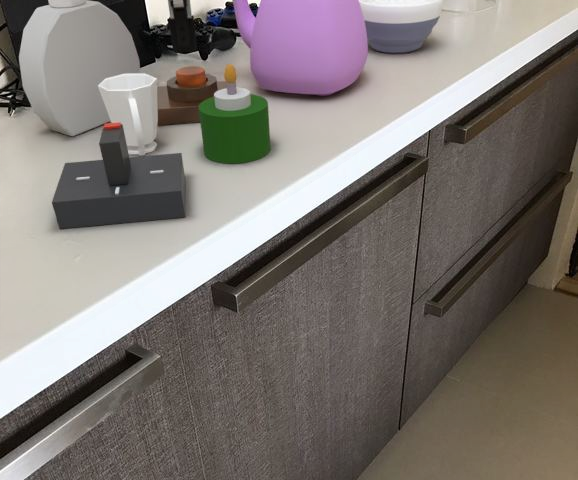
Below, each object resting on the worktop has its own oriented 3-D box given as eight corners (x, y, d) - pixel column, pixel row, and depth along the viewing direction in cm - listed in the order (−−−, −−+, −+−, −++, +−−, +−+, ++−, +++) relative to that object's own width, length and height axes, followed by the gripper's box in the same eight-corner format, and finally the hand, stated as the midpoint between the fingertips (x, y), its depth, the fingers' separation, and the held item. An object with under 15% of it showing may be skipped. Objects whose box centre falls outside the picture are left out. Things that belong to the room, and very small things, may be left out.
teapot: (385, 64, 107) (391, -46, 97) (343, 107, 93) (344, -17, 83) (257, 55, 114) (250, -49, 104) (200, 93, 100) (185, -22, 90)
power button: (177, 89, 90) (175, 75, 89) (177, 80, 93) (175, 67, 92) (206, 87, 91) (205, 73, 89) (206, 78, 94) (204, 65, 92)
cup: (164, 134, 88) (153, 69, 82) (174, 163, 80) (163, 93, 75) (110, 142, 86) (96, 76, 81) (116, 171, 79) (100, 102, 74)
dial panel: (59, 229, 69) (51, 200, 66) (71, 188, 76) (64, 161, 74) (185, 217, 69) (180, 188, 67) (185, 178, 77) (181, 151, 75)
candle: (203, 165, 79) (191, 77, 73) (205, 139, 86) (194, 56, 79) (272, 161, 80) (267, 72, 73) (268, 135, 86) (263, 52, 79)
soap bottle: (60, 143, 87) (12, -35, 74) (35, 135, 89) (-15, -38, 76) (150, 107, 96) (122, -57, 83) (126, 101, 99) (94, -59, 86)
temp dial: (128, 184, 69) (118, 139, 66) (108, 186, 69) (98, 140, 66) (131, 165, 73) (122, 121, 70) (112, 166, 73) (102, 123, 69)
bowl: (344, 56, 111) (345, 5, 106) (364, 34, 122) (366, -14, 117) (431, 60, 108) (436, 8, 103) (444, 37, 118) (449, -12, 113)
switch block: (151, 126, 90) (146, 95, 88) (154, 102, 98) (149, 73, 95) (239, 119, 91) (237, 88, 88) (235, 95, 98) (232, 67, 96)
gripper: (135, -124, 82) (158, 38, 94) (127, -115, 71) (155, 68, 83) (196, -127, 83) (211, 35, 95) (197, -118, 72) (215, 64, 84)
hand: (185, 50), depth 89 cm, fingers closed
